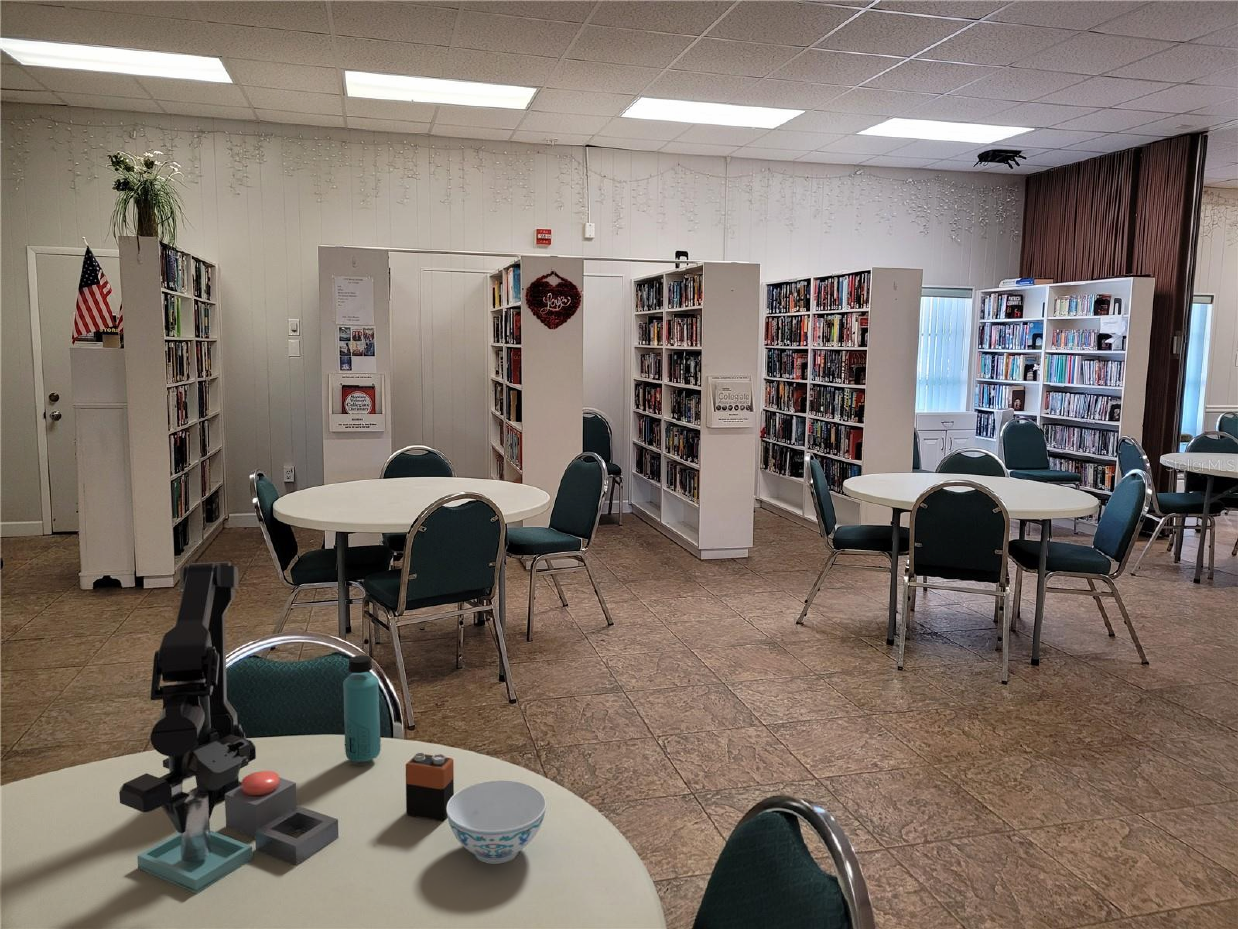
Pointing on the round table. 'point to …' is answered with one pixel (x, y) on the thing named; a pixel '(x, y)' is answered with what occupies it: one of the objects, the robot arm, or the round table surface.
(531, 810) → the chinaware
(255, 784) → the release button
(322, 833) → the socket
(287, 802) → the block
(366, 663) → the beverage bottle
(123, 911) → the round table surface
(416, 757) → the battery
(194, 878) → the tray
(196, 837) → the shiny silver cylinder
